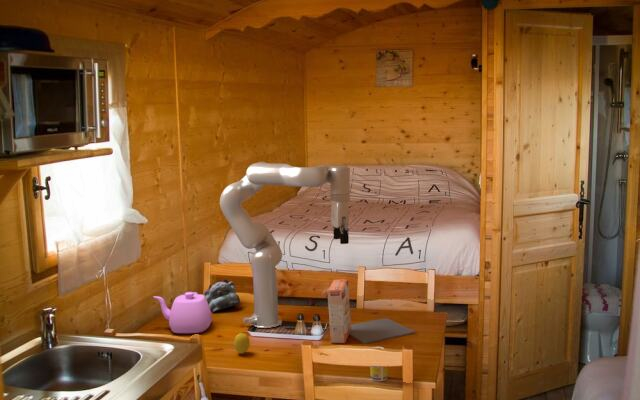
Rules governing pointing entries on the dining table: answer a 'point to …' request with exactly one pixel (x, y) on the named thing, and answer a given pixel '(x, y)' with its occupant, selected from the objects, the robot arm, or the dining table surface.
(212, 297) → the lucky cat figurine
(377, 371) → the supplement bottle
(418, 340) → the dining table surface
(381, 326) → the slate mat
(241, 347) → the lemon
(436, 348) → the dining table surface
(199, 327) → the teapot
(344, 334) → the cracker box
